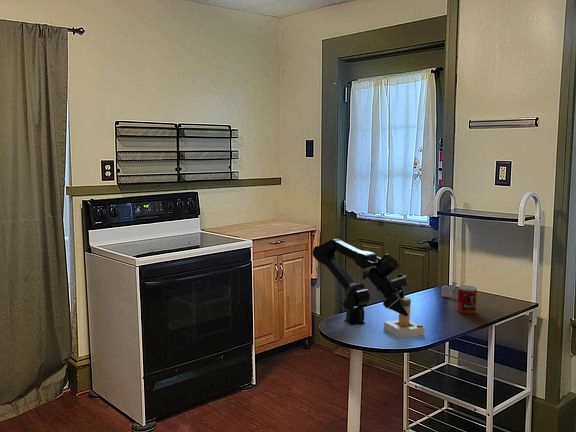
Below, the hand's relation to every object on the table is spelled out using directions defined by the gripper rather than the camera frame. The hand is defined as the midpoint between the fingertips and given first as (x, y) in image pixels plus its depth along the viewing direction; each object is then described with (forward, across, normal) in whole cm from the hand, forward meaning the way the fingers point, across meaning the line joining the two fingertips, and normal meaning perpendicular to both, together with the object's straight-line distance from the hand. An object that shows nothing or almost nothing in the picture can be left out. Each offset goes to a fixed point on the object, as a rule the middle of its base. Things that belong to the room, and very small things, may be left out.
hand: (408, 312), depth 220 cm
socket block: (+5, 0, +7) cm, 8 cm away
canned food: (+21, +38, -10) cm, 44 cm away
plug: (+5, 0, +7) cm, 8 cm away
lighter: (+16, +61, -4) cm, 63 cm away
